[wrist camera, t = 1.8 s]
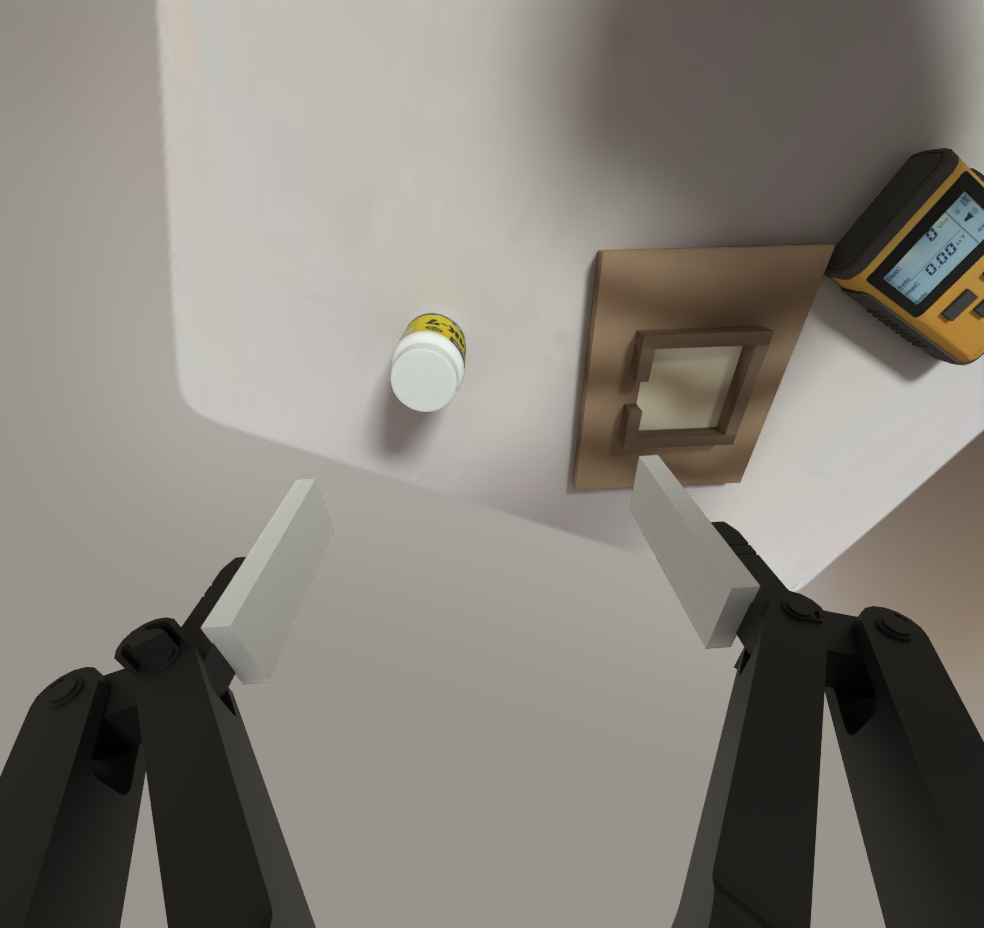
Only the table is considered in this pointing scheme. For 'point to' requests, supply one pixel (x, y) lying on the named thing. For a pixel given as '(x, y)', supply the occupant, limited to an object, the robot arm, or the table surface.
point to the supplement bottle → (428, 362)
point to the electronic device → (922, 256)
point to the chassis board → (688, 357)
